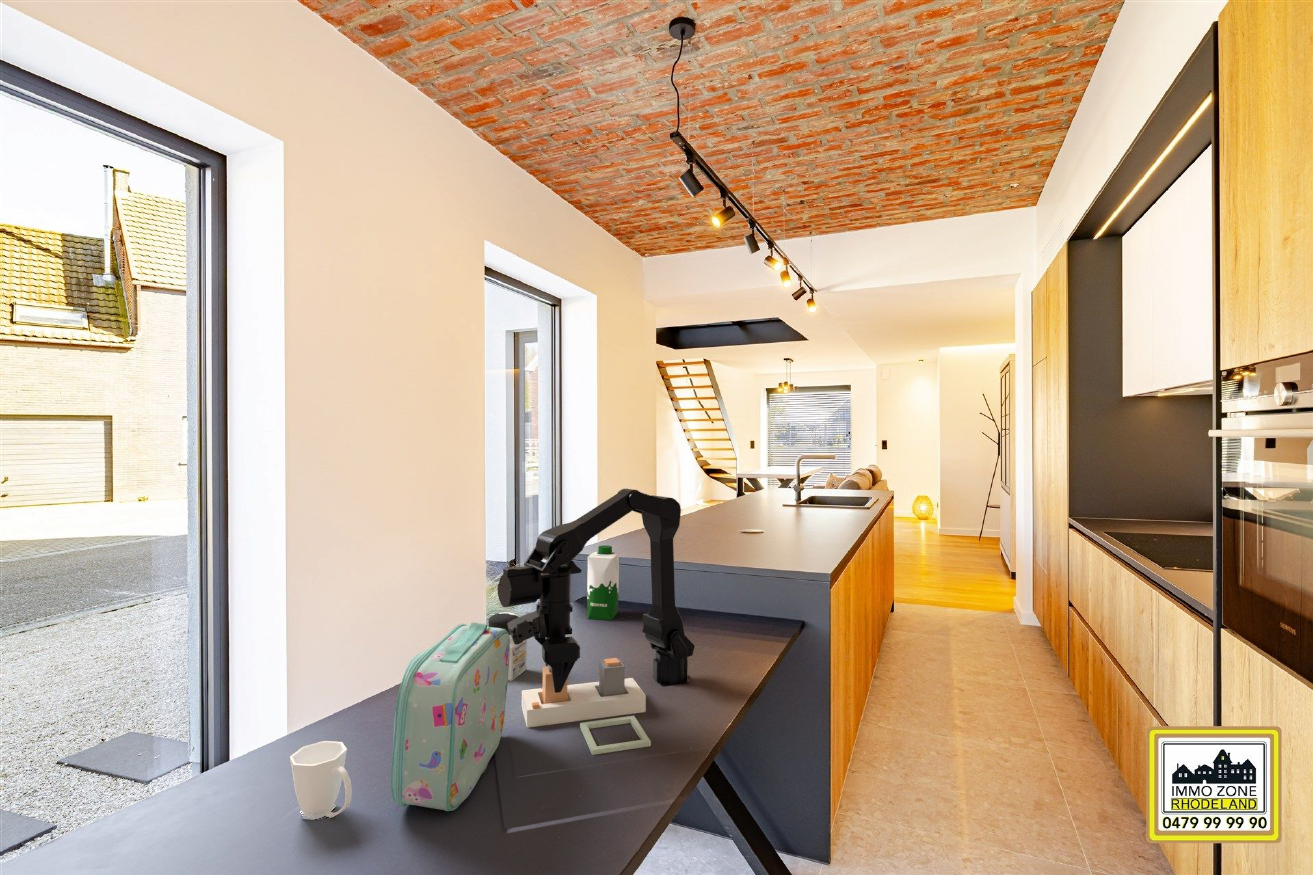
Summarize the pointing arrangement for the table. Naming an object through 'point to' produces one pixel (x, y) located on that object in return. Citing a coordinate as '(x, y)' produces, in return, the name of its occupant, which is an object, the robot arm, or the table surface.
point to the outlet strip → (582, 704)
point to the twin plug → (611, 677)
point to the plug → (551, 689)
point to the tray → (618, 746)
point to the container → (511, 644)
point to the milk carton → (603, 584)
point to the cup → (320, 778)
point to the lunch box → (449, 717)
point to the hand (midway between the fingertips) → (553, 682)
